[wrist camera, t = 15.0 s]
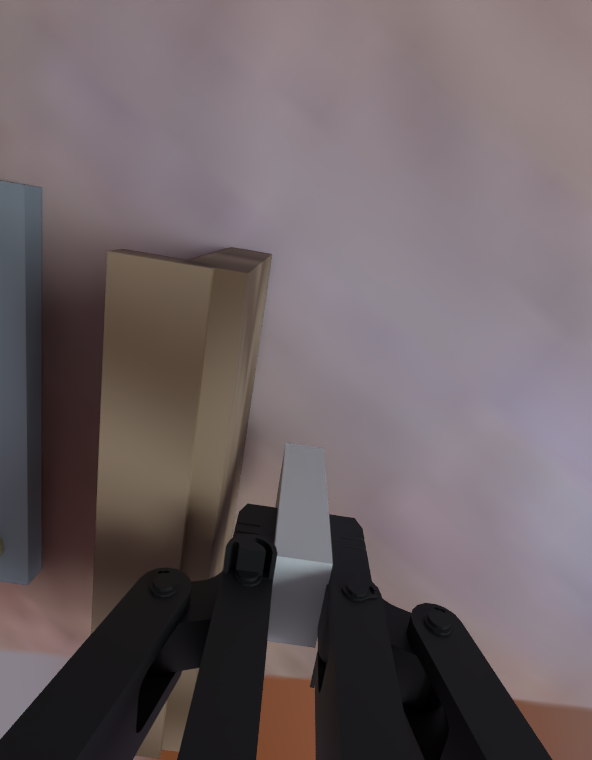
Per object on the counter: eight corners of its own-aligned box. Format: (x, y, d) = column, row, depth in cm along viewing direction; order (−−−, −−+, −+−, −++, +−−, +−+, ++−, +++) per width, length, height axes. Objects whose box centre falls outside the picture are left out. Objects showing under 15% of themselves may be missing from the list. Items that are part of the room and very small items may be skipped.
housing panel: (191, 240, 19) (106, 251, 11) (272, 254, 19) (246, 274, 11) (160, 574, 24) (86, 748, 16) (224, 583, 24) (183, 762, 16)
